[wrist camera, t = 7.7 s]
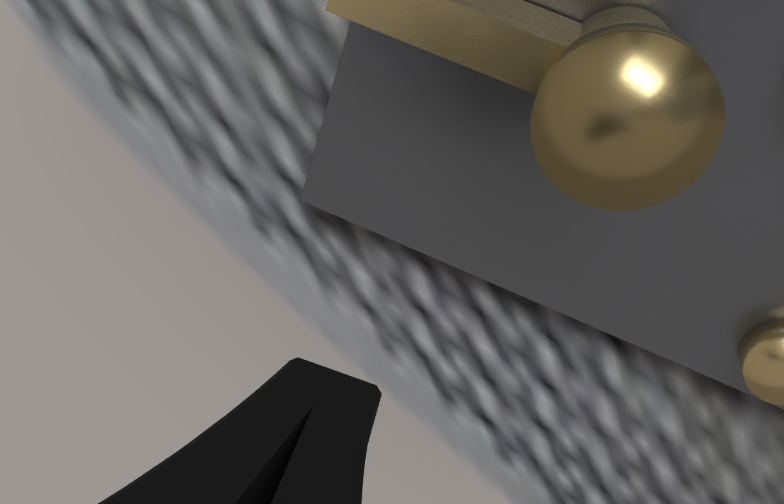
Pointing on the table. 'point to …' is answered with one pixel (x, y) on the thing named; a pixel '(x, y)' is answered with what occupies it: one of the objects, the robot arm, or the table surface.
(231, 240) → the table surface
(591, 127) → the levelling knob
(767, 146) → the base plate
